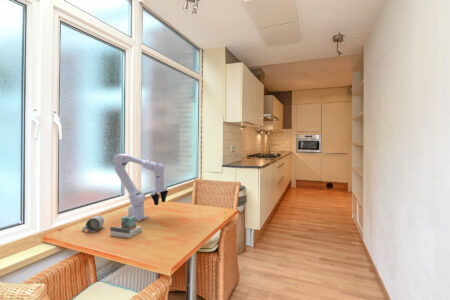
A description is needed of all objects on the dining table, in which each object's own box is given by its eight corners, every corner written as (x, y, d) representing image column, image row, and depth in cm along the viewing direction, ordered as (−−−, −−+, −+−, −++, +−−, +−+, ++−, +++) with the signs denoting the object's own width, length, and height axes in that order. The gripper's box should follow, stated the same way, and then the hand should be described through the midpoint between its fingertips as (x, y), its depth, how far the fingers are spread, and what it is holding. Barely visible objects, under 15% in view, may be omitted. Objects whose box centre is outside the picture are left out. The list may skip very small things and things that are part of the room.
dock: (110, 235, 124) (110, 227, 124) (124, 228, 134) (124, 220, 134) (128, 238, 120) (128, 229, 120) (141, 231, 130) (141, 223, 130)
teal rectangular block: (121, 228, 128) (120, 217, 127) (126, 225, 131) (125, 215, 131) (131, 229, 125) (131, 218, 125) (136, 227, 129) (136, 216, 129)
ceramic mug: (105, 226, 138) (104, 213, 138) (100, 231, 130) (99, 217, 130) (85, 227, 136) (85, 215, 136) (79, 233, 128) (79, 219, 128)
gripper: (158, 185, 141) (158, 207, 142) (170, 181, 155) (171, 201, 156) (148, 184, 144) (148, 206, 144) (161, 180, 157) (162, 200, 158)
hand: (160, 203), depth 150 cm, fingers open, 7 cm apart
